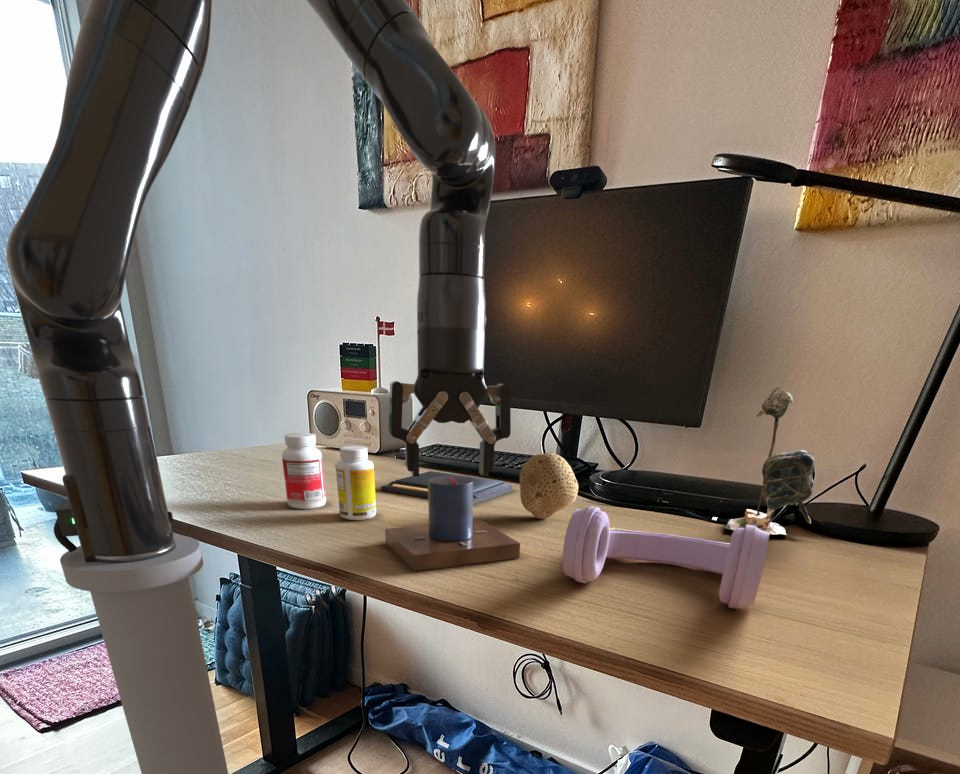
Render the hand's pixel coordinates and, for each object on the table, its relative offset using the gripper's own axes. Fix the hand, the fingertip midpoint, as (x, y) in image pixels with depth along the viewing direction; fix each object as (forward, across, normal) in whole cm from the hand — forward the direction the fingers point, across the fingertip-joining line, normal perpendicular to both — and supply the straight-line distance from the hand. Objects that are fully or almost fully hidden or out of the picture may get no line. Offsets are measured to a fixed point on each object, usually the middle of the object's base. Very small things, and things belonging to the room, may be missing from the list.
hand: (449, 475), depth 73 cm
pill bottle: (+10, +18, -29) cm, 35 cm away
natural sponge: (+10, -18, -14) cm, 25 cm away
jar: (+8, 0, -1) cm, 8 cm away
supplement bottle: (+10, +10, -20) cm, 25 cm away
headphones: (+10, -23, +13) cm, 29 cm away
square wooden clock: (+10, 0, -1) cm, 10 cm away
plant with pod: (+9, -48, -2) cm, 49 cm away
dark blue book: (+10, -7, -36) cm, 38 cm away
